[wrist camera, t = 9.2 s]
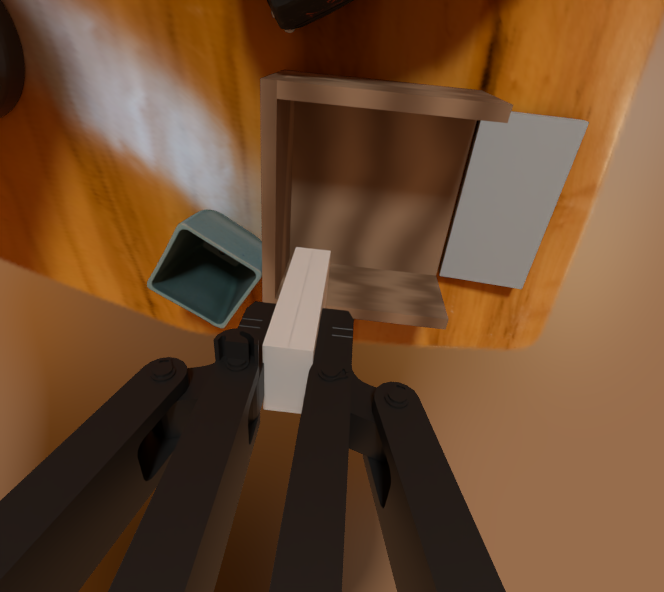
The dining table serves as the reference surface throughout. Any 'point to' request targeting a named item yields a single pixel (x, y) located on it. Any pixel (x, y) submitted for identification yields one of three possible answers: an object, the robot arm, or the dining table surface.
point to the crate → (365, 186)
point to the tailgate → (509, 196)
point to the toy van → (302, 11)
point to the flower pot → (209, 267)
